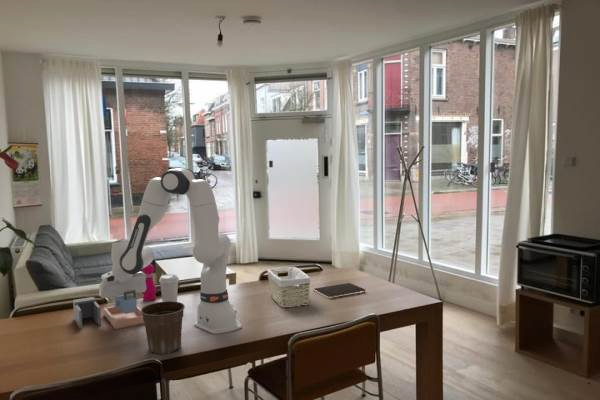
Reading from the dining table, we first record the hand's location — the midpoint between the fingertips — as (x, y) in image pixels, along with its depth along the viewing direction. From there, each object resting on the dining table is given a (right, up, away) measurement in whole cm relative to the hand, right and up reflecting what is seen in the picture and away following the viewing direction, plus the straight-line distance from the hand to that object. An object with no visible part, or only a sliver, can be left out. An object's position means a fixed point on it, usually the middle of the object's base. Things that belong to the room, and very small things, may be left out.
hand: (123, 304), depth 220 cm
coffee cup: (+16, -5, +18) cm, 25 cm away
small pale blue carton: (+1, -2, -1) cm, 3 cm away
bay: (-15, -7, -4) cm, 17 cm away
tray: (+1, -7, -1) cm, 7 cm away
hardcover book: (+102, -3, +40) cm, 109 cm away
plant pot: (+28, -10, -33) cm, 44 cm away
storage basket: (+74, -4, +25) cm, 79 cm away
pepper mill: (+3, -4, +29) cm, 30 cm away
